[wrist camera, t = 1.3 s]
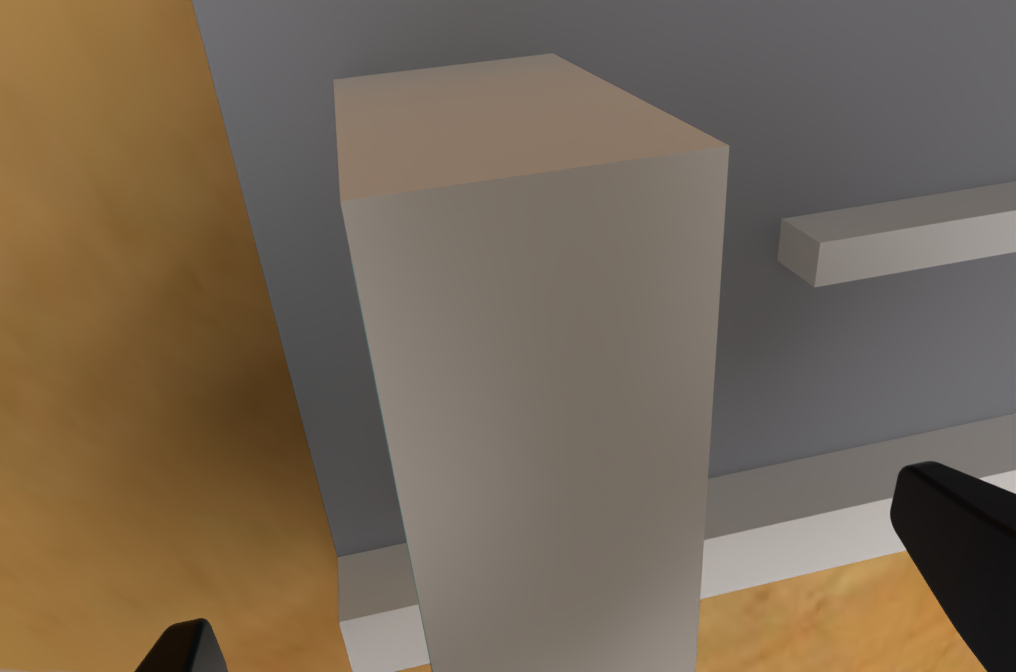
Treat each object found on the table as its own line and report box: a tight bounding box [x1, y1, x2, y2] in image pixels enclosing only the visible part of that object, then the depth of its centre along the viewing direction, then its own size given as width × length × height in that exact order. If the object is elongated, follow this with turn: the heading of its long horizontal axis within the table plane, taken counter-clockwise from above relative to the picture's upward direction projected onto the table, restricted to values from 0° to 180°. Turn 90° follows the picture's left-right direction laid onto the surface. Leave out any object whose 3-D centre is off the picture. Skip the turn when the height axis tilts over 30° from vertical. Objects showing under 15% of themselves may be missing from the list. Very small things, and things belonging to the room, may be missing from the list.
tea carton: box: [333, 53, 729, 672], centre depth 13 cm, size 4×10×7 cm, turn 5°
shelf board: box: [192, 0, 1016, 672], centre depth 17 cm, size 24×16×4 cm, turn 95°
